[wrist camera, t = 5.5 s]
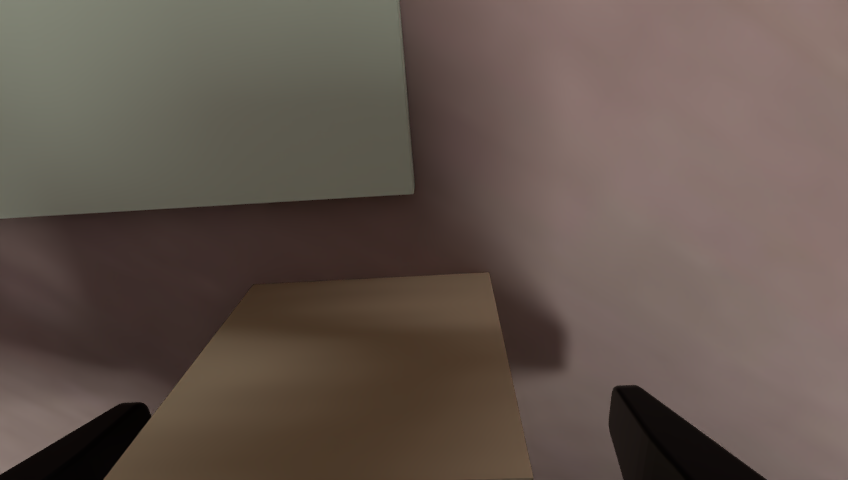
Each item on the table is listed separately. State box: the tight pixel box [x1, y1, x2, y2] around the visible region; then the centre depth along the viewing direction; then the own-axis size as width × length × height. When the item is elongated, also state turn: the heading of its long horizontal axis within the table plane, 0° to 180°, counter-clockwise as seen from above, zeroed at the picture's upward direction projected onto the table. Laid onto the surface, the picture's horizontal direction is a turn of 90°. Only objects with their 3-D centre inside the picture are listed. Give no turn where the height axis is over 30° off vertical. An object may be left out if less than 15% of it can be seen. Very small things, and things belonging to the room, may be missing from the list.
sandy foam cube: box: [103, 272, 533, 480], centre depth 8 cm, size 4×4×4 cm
